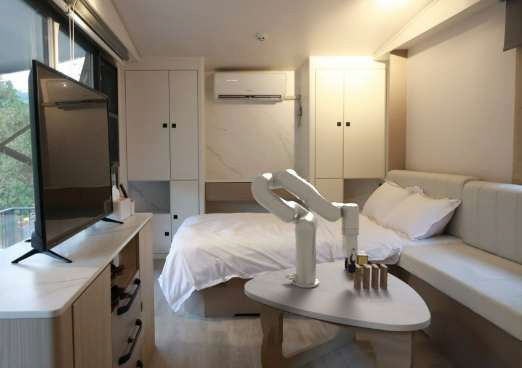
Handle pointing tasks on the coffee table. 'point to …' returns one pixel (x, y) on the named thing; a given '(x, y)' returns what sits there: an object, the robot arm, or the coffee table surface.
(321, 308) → the coffee table surface
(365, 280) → the domino
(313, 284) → the robot arm
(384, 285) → the domino
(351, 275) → the domino
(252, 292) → the coffee table surface
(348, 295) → the coffee table surface
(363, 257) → the puzzle cube
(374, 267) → the domino
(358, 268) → the domino
